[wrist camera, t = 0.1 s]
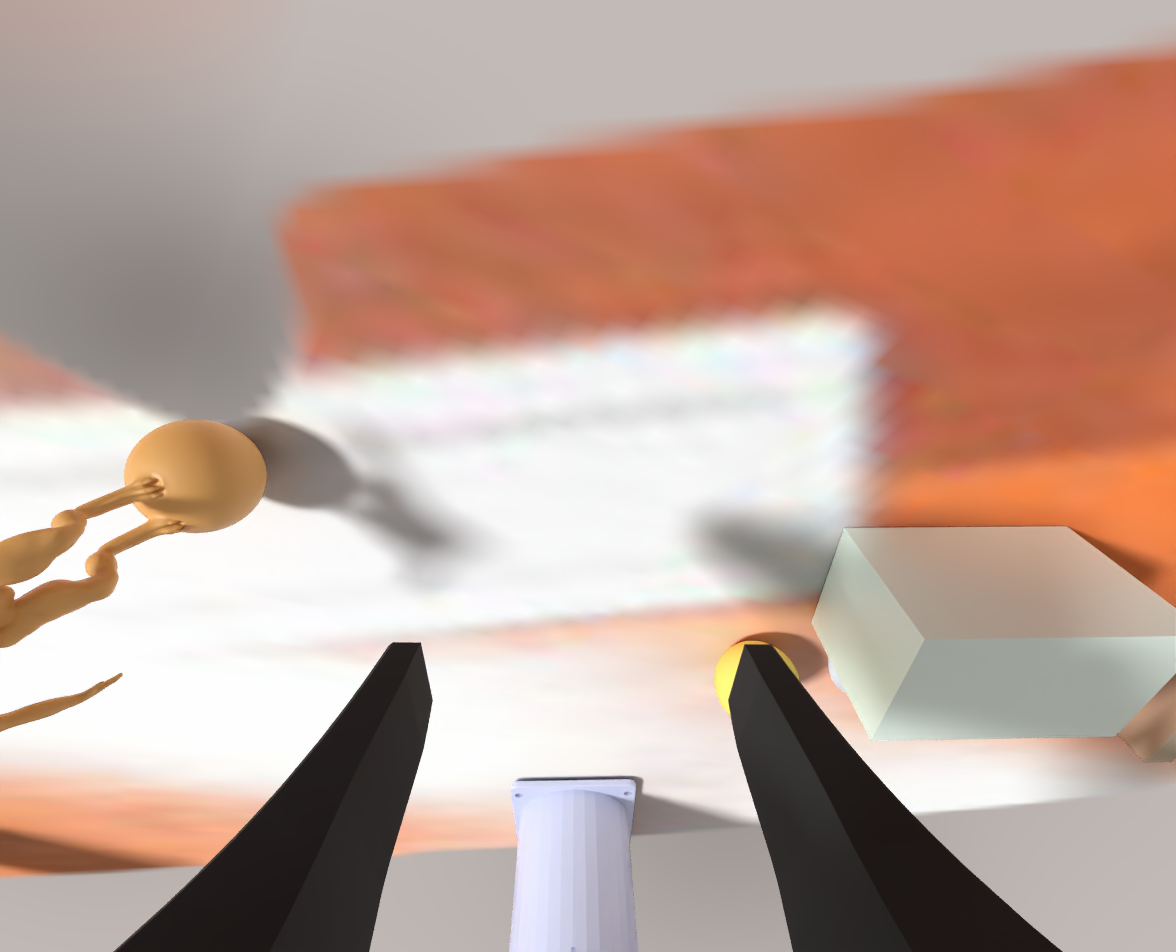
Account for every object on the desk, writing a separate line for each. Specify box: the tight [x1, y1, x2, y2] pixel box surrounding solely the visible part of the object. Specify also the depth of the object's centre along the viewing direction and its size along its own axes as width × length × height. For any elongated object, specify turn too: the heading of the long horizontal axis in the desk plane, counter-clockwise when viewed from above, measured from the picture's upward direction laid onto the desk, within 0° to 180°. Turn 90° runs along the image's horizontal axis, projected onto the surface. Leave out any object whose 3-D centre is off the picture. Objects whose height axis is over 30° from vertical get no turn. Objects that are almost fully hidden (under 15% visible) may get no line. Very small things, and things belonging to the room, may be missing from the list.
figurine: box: [0, 419, 267, 732], centre depth 15 cm, size 8×6×12 cm
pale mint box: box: [811, 526, 1176, 741], centre depth 22 cm, size 6×10×6 cm, turn 90°
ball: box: [714, 641, 800, 716], centre depth 25 cm, size 4×4×4 cm
